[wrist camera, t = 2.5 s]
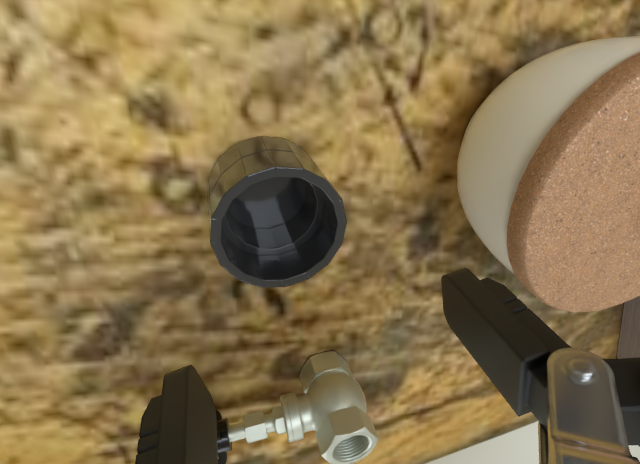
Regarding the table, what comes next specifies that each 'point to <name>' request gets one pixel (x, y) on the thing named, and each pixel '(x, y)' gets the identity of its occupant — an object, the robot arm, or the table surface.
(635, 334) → the rafter model
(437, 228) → the table surface
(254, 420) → the valve
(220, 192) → the dark gray metal cup
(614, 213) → the lidded bowl
